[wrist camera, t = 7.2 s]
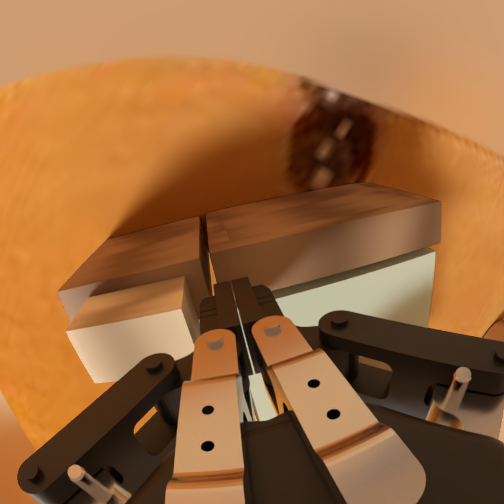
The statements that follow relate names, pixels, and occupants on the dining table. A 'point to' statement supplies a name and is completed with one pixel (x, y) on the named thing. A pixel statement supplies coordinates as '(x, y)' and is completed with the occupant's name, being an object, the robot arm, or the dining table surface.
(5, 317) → the dining table surface
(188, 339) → the tan wooden block
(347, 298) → the lid
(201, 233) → the wooden box frame
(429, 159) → the dining table surface
